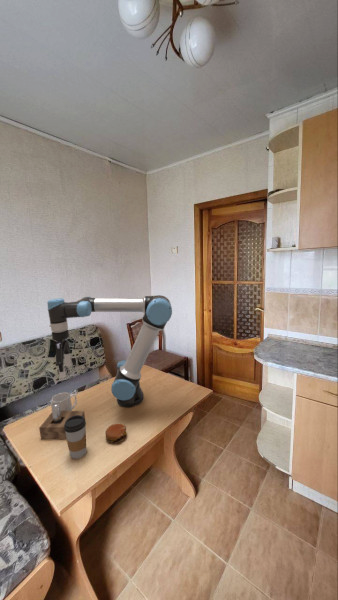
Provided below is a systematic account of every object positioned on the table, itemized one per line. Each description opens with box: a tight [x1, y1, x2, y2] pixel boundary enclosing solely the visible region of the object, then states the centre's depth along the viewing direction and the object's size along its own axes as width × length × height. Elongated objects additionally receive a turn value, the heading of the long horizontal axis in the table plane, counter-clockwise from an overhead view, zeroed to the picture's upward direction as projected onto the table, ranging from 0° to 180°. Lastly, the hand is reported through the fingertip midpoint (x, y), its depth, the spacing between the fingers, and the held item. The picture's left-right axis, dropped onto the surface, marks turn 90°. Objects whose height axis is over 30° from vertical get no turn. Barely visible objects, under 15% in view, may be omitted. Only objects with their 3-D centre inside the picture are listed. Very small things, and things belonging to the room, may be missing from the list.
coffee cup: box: [64, 415, 87, 460], centre depth 102 cm, size 8×8×15 cm
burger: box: [105, 423, 128, 444], centre depth 111 cm, size 10×9×5 cm
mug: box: [51, 391, 78, 411], centre depth 129 cm, size 12×9×11 cm
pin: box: [50, 402, 62, 424], centre depth 116 cm, size 4×4×12 cm
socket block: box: [39, 410, 86, 441], centre depth 117 cm, size 16×12×6 cm
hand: (65, 371), depth 124 cm, fingers open, 13 cm apart
